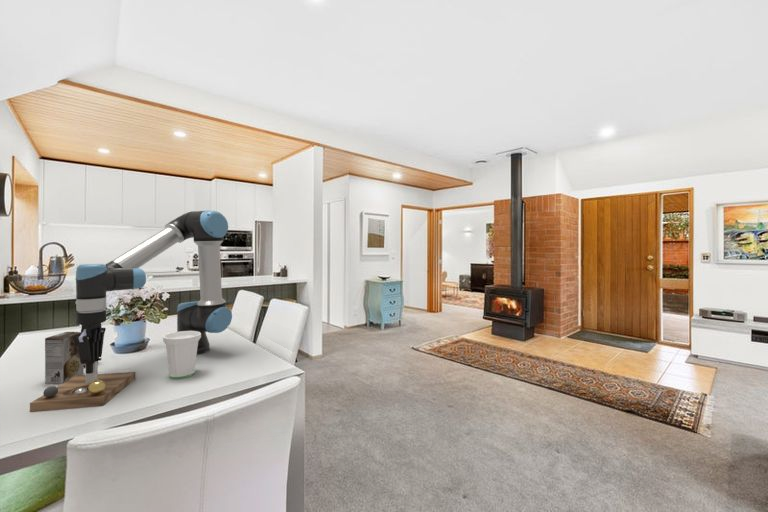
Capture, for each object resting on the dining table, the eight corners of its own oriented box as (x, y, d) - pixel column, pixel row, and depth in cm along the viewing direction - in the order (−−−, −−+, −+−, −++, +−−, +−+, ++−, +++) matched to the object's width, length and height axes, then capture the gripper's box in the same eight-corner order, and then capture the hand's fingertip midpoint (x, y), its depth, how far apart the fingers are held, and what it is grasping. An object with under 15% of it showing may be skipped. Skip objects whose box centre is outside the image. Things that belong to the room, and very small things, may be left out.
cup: (160, 383, 121) (161, 340, 121) (164, 371, 132) (164, 332, 132) (200, 377, 127) (200, 336, 126) (200, 367, 138) (201, 329, 138)
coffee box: (65, 374, 127) (66, 331, 127) (84, 374, 128) (84, 331, 128) (43, 384, 118) (43, 337, 118) (63, 383, 119) (63, 337, 118)
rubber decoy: (60, 394, 105) (60, 383, 105) (53, 398, 102) (53, 388, 101) (47, 395, 104) (48, 384, 104) (40, 399, 101) (40, 389, 101)
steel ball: (91, 388, 110) (86, 385, 107) (88, 399, 108) (82, 397, 106) (79, 389, 109) (73, 387, 107) (75, 401, 107) (69, 398, 105)
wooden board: (76, 382, 120) (76, 375, 120) (135, 378, 124) (135, 371, 124) (29, 411, 99) (29, 403, 98) (103, 405, 103) (103, 397, 103)
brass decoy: (108, 390, 108) (108, 377, 108) (101, 396, 104) (101, 382, 104) (92, 391, 107) (92, 378, 107) (84, 397, 103) (85, 383, 103)
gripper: (88, 307, 117) (89, 375, 118) (65, 315, 105) (65, 391, 105) (114, 307, 119) (114, 373, 120) (94, 314, 107) (94, 388, 107)
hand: (91, 381), depth 113 cm, fingers closed
